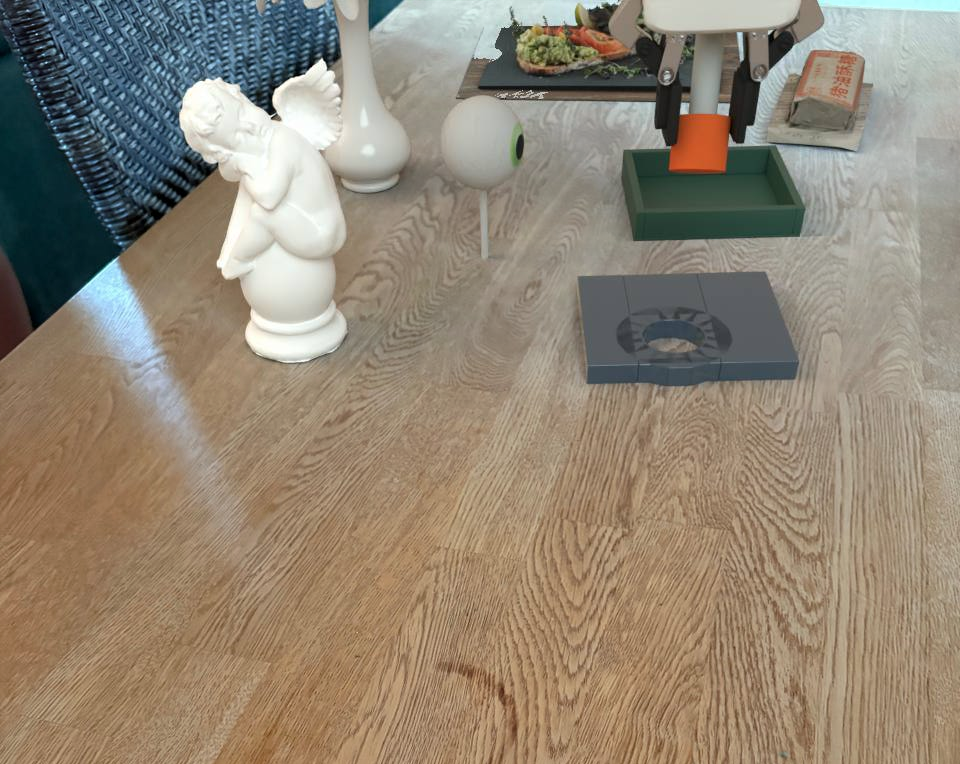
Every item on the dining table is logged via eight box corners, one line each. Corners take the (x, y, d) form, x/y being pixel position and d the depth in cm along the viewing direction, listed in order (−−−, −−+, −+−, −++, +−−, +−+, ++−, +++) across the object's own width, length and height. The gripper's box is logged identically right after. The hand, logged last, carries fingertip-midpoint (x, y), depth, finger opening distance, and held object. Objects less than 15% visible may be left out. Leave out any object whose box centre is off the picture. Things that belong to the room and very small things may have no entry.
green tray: (770, 174, 106) (776, 144, 104) (799, 239, 97) (805, 208, 94) (621, 178, 107) (623, 149, 105) (634, 243, 97) (636, 212, 95)
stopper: (717, 174, 75) (732, 34, 72) (731, 170, 71) (747, 23, 68) (664, 172, 75) (676, 32, 72) (674, 168, 71) (688, 20, 68)
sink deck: (759, 303, 89) (765, 271, 87) (793, 398, 79) (801, 364, 77) (575, 307, 89) (577, 275, 87) (586, 403, 79) (588, 369, 77)
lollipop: (508, 295, 91) (507, 118, 80) (435, 284, 93) (424, 109, 82) (533, 259, 96) (535, 86, 85) (462, 248, 97) (455, 78, 86)
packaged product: (793, 42, 120) (882, 49, 117) (785, 87, 123) (871, 94, 121) (772, 97, 108) (869, 106, 106) (764, 144, 112) (857, 154, 109)
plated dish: (455, 100, 123) (452, 32, 118) (481, 29, 143) (480, -32, 137) (748, 106, 120) (760, 36, 115) (734, 32, 140) (743, -30, 134)
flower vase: (287, 159, 113) (242, -117, 95) (453, 156, 112) (439, -123, 94) (267, 211, 104) (212, -81, 86) (446, 208, 103) (430, -88, 85)
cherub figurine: (217, 355, 86) (147, 70, 70) (275, 284, 94) (224, 14, 78) (352, 373, 83) (312, 81, 67) (400, 298, 91) (374, 22, 75)
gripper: (870, -210, 61) (809, 113, 74) (590, -197, 62) (580, 121, 75) (905, -188, 56) (833, 155, 69) (600, -174, 56) (587, 164, 70)
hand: (702, 134), depth 72 cm, fingers closed on stopper, 4 cm apart
